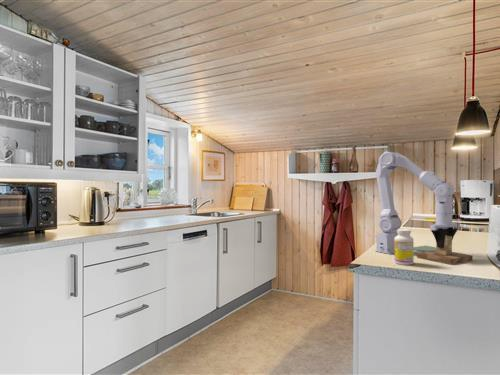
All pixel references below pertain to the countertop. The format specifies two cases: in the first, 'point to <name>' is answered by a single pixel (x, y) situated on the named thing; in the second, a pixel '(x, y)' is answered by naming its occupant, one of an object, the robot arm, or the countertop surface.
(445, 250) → the maple block
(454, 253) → the pocket plate
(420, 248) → the rubber mat
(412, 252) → the supplement bottle
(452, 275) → the countertop surface
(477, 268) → the countertop surface
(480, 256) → the countertop surface
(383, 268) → the countertop surface
